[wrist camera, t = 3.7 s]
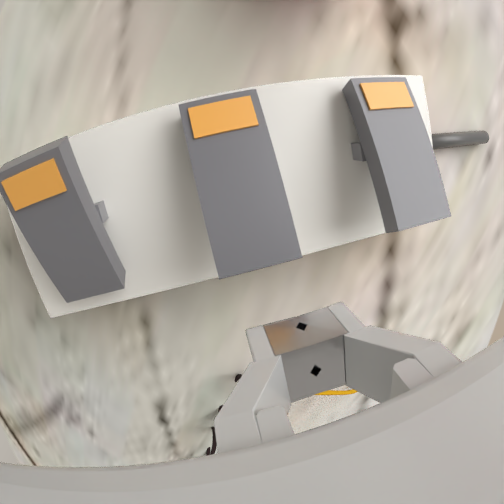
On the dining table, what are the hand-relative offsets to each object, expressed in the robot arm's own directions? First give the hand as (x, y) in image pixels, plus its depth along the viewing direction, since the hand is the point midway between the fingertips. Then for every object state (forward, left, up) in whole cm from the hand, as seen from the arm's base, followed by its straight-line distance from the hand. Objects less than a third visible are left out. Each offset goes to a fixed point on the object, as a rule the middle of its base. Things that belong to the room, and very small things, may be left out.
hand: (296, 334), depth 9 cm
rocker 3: (-4, +9, -7) cm, 12 cm away
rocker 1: (-4, -9, -7) cm, 12 cm away
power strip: (-3, +5, -14) cm, 15 cm away
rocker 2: (-4, 0, -7) cm, 8 cm away
